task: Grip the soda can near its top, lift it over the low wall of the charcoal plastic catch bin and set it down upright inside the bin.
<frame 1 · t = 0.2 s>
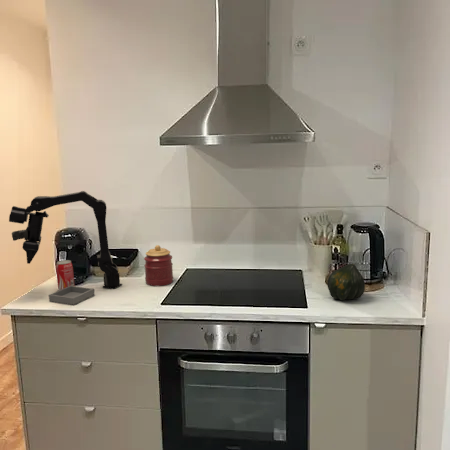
hand: (29, 260, 206), 15 cm above the counter, tool pointing down, fingers open, 9 cm apart
squash: (345, 298, 194), on the counter
catch bin: (72, 298, 202), on the counter
canister: (159, 282, 222), on the counter
soda can: (66, 290, 214), on the counter
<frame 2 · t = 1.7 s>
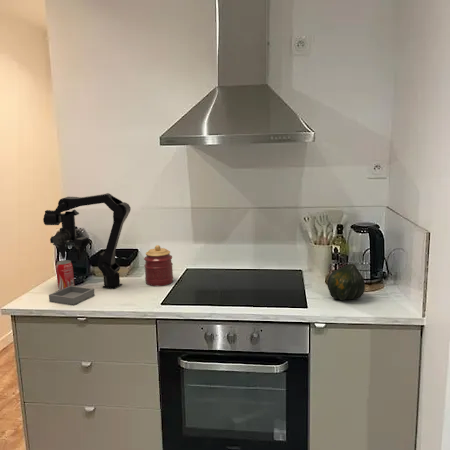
hand: (71, 258, 216), 13 cm above the counter, tool pointing down, fingers open, 9 cm apart
nothing on the counter moved.
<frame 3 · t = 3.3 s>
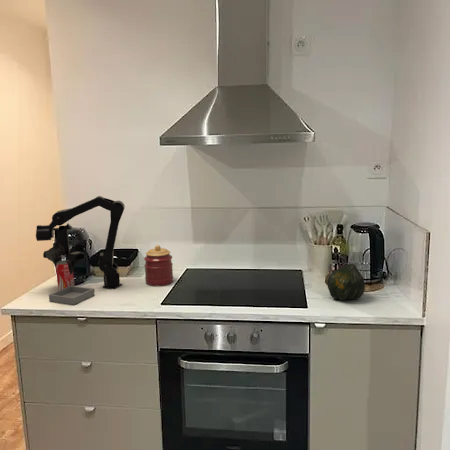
hand: (65, 273, 213), 8 cm above the counter, tool pointing down, fingers open, 6 cm apart
soda can: (66, 290, 214), on the counter, touching gripper
everything else where it was.
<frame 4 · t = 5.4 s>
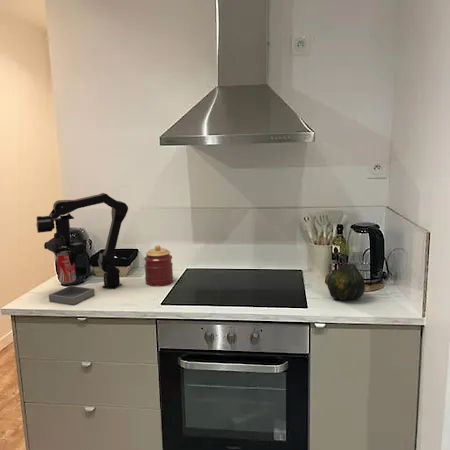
hand: (66, 265, 206), 13 cm above the counter, tool pointing down, fingers closed on soda can, 6 cm apart
soda can: (67, 282, 207), point 5 cm above the counter, touching gripper
everything else where it was.
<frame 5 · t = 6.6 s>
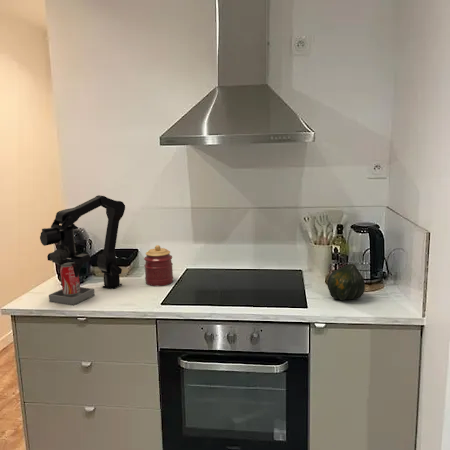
hand: (70, 277, 200), 9 cm above the counter, tool pointing down, fingers closed on soda can, 6 cm apart
soda can: (72, 294, 202), point 2 cm above the counter, touching gripper
everything else where it was.
when the fingers open (9 cm above the counter, at t = 7.5 s): soda can stays where it is, resting on catch bin.
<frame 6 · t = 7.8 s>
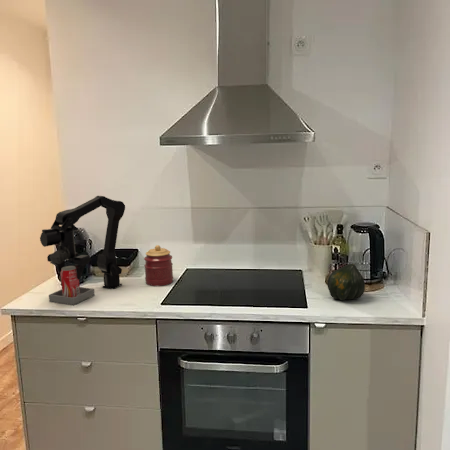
hand: (70, 278, 200), 9 cm above the counter, tool pointing down, fingers open, 9 cm apart
soda can: (71, 297, 202), resting on catch bin
everything else where it was.
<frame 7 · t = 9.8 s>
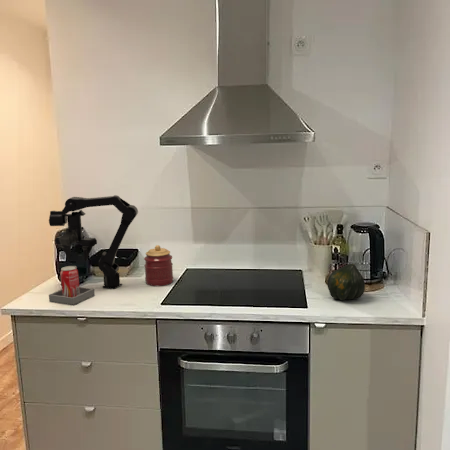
hand: (77, 259, 214), 13 cm above the counter, tool pointing down, fingers open, 9 cm apart
nothing on the counter moved.
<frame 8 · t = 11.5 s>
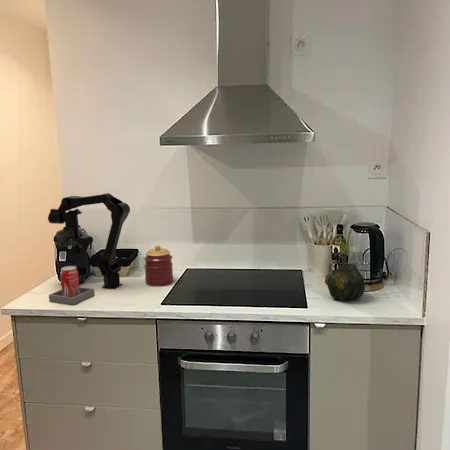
hand: (74, 257, 219), 13 cm above the counter, tool pointing down, fingers open, 9 cm apart
nothing on the counter moved.
at the end: soda can inside the target area on the catch bin (0.3 cm from its centre), point 0.3 cm above the catch bin's base; soda can tilted 0°; the gripper is holding nothing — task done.
